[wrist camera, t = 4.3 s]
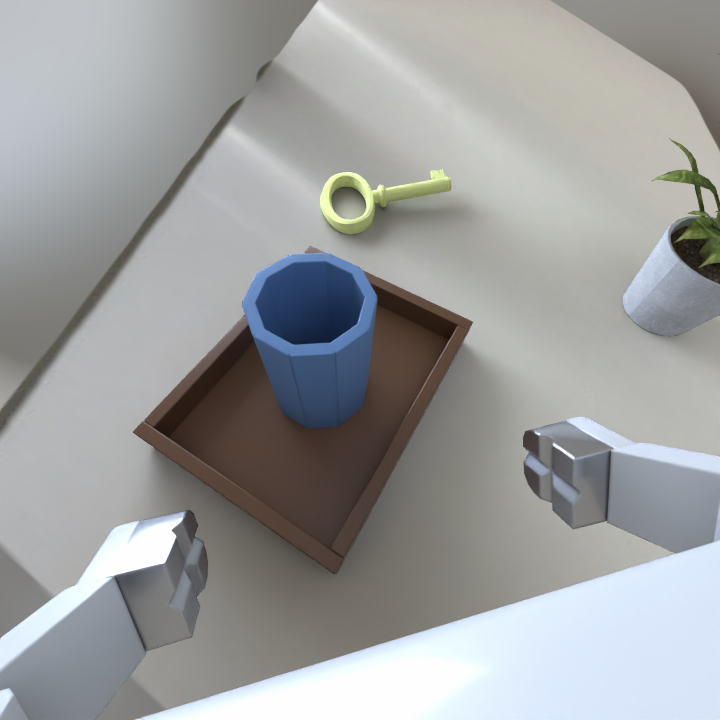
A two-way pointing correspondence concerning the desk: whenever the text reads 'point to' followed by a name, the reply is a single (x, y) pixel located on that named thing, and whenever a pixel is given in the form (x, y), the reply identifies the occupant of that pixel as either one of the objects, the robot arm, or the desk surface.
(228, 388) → the tray
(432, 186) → the key
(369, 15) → the desk surface
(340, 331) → the blue faceted tube
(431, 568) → the desk surface
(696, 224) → the house plant
